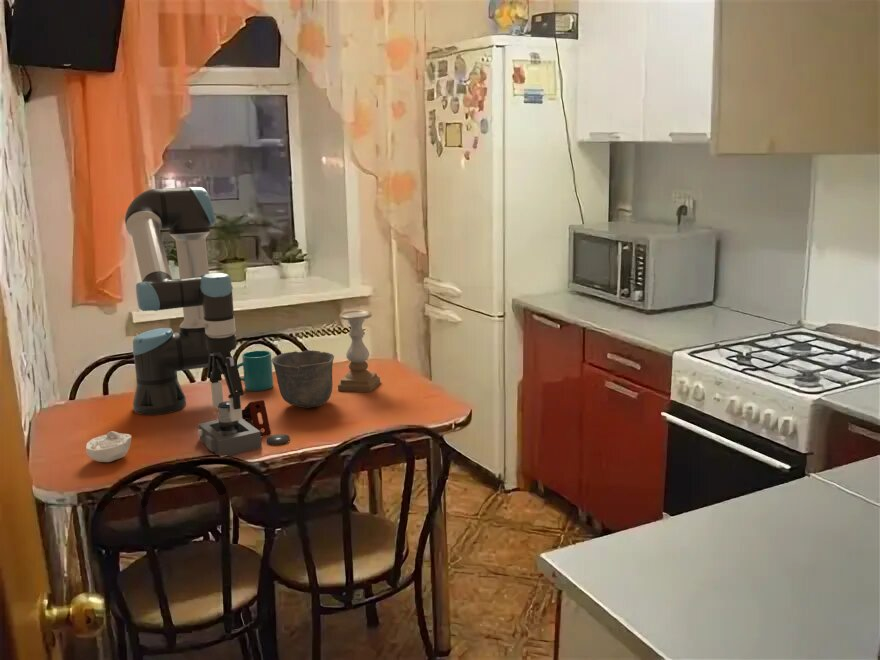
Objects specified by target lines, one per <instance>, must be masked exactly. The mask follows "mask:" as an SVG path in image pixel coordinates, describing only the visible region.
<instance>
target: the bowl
mask: <svg viewBox="0 0 880 660" xmlns="http://www.w3.org/2000/svg"><path fill="white" fill-rule="evenodd" d="M334 358H335V355H334V354H333V353H330V352H325V351H320V350H308V349H307V350H303V351H296V350H295V351H290V352H289V351H288V352H284V353H280V354H278V355H275V356H273V357H271V359H272V366H273V367H274V371H275V375H276V376H275V377H276V379H277V381H276V382H277V384H278V389H279V390H278V391H279V392H280V396H281V397H282V399H283V401H285V402H286V403H287V404H289V405H292V406H295V407H298V408H305V409H306V408H316V407H319V406H322V405H324V404H325V403H327V402H328V401H329V400H330V398H331V395H332V392H333V362H334Z"/></svg>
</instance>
